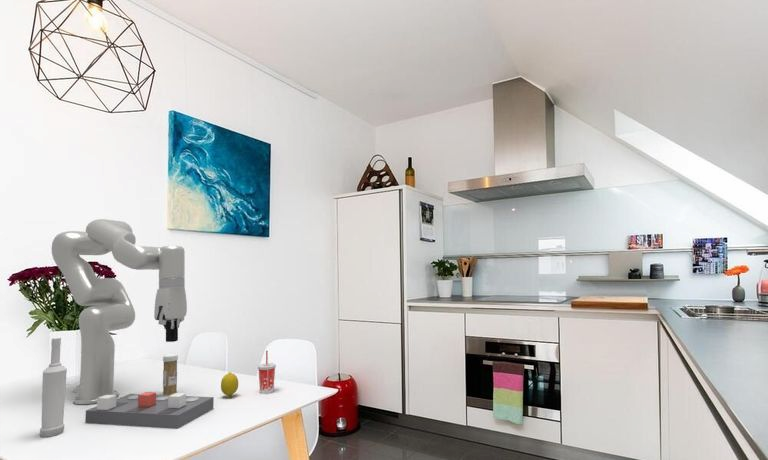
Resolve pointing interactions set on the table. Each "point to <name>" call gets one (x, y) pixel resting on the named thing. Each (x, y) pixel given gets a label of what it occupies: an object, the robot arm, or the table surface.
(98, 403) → the left switch
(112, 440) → the table surface
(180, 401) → the right switch
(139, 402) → the red switch
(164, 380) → the sprinkles bottle
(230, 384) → the lemon
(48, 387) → the bottle
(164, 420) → the switch panel
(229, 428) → the table surface
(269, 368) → the beverage cup
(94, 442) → the table surface
